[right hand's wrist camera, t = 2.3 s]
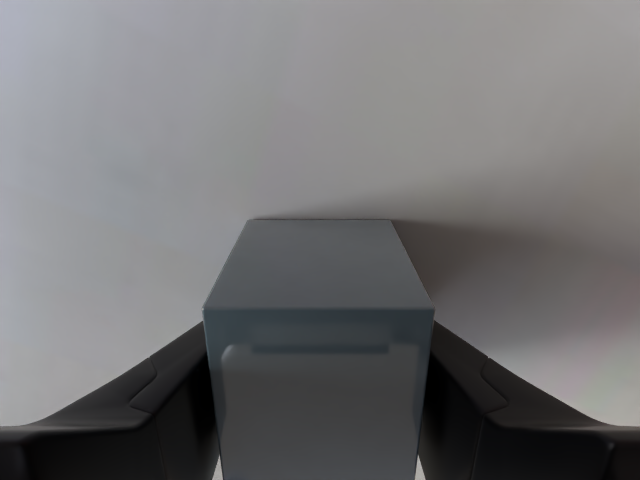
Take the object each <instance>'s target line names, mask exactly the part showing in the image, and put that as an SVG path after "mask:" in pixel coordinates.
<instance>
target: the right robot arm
mask: <svg viewBox="0 0 640 480" xmlns="http://www.w3.org/2000/svg"><path fill="white" fill-rule="evenodd" d="M219 455H220V452H219V444H218V436H217V428H216V420H215V412H214V404H213V395H212V387H211V379H210V371H209V363H208V355H207V347H206V339H205V331H204V323H203V321H202V322H200V323H199V324H197V325H196V326H194V327H193V328H192V329H190V330H189V331H187V332H186V333H184V334H183V335H181V336H180V337H178V338H177V339H175V340H174V341H172V342H171V343H169V344H168V345H166V346H165V347H163V348H162V349H160V350H159V351H157V352H156V353H154V354H153V355H151V356H150V357H149V358H147V359H145V360H144V361H142V362H141V363H139V364H138V365H136V366H135V367H133V368H132V369H130V370H129V371H127V372H125V373H124V374H122V375H121V376H119V377H117V378H116V379H114V380H112V381H111V382H109V383H107V384H105V385H104V386H102V387H100V388H98V389H97V390H95V391H93V392H91V393H90V394H88V395H86V396H84V397H83V398H81V399H79V400H77V401H75V402H74V403H72V404H70V405H68V406H67V407H65V408H63V409H61V410H60V411H58V412H56V413H54V414H52V415H50V416H49V417H47V418H44V419H42V420H39V421H37V422H34V423H30V424H27V425H21V426H3V427H0V480H212V478H213V475H214V472H215V468H216V465H217V461H218V458H219ZM418 455H419V458H420V462H421V465H422V469H423V472H424V475H425V479H426V480H640V427H634V426H615V425H610V424H606V423H603V422H600V421H597V420H595V419H592V418H590V417H588V416H586V415H585V414H583V413H581V412H579V411H577V410H576V409H574V408H572V407H570V406H569V405H567V404H565V403H563V402H562V401H560V400H558V399H556V398H555V397H553V396H551V395H549V394H548V393H546V392H544V391H542V390H540V389H539V388H537V387H535V386H534V385H532V384H530V383H528V382H527V381H525V380H523V379H522V378H520V377H518V376H517V375H515V374H514V373H512V372H510V371H509V370H507V369H506V368H504V367H503V366H501V365H500V364H498V363H497V362H495V361H494V360H492V359H491V358H488V356H486V355H485V354H483V353H482V352H480V351H479V350H477V349H476V348H474V347H473V346H472V345H470V344H469V343H467V342H466V341H464V340H463V339H461V338H460V337H458V336H457V335H455V334H454V333H452V332H451V331H449V330H448V329H446V328H445V327H444V326H442V325H441V324H439V323H438V322H436V321H435V320H434V323H433V332H432V340H431V348H430V357H429V365H428V374H427V382H426V390H425V399H424V407H423V416H422V424H421V432H420V441H419V449H418Z"/></svg>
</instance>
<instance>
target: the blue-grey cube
mask: <svg viewBox="0 0 640 480" xmlns="http://www.w3.org/2000/svg"><path fill="white" fill-rule="evenodd" d="M202 315H203V323H204V331H205V339H206V347H207V355H208V363H209V371H210V379H211V387H212V395H213V404H214V412H215V420H216V428H217V436H218V444H219V452H220V460H221V468H222V476H223V480H415V474H416V466H417V458H418V449H419V441H420V432H421V424H422V416H423V407H424V399H425V390H426V382H427V374H428V365H429V357H430V348H431V340H432V332H433V323H434V315H435V307H434V305H433V303H432V301H431V299H430V297H429V295H428V293H427V291H426V289H425V287H424V285H423V283H422V281H421V279H420V277H419V275H418V273H417V271H416V269H415V267H414V265H413V263H412V261H411V259H410V257H409V255H408V253H407V251H406V249H405V247H404V245H403V243H402V242H401V240H400V238H399V236H398V234H397V232H396V230H395V228H394V226H393V224H392V222H391V220H247V222H246V224H245V226H244V228H243V230H242V232H241V234H240V236H239V238H238V240H237V241H236V243H235V245H234V247H233V249H232V251H231V253H230V255H229V257H228V259H227V261H226V263H225V265H224V267H223V268H222V270H221V272H220V274H219V276H218V278H217V280H216V282H215V284H214V286H213V288H212V290H211V292H210V294H209V295H208V297H207V299H206V301H205V303H204V305H203V307H202Z"/></svg>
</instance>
